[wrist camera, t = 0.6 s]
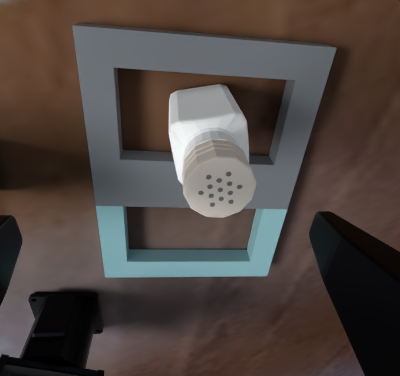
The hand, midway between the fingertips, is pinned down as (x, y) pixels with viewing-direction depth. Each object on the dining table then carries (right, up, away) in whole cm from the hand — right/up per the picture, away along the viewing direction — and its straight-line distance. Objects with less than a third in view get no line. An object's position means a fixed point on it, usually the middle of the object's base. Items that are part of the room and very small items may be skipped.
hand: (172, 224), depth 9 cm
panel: (0, +2, +14) cm, 15 cm away
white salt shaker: (+1, +6, +12) cm, 14 cm away
